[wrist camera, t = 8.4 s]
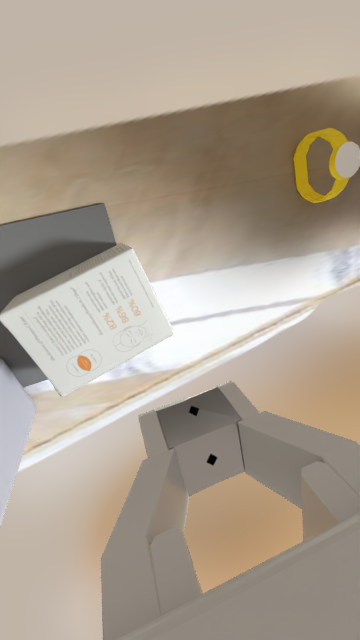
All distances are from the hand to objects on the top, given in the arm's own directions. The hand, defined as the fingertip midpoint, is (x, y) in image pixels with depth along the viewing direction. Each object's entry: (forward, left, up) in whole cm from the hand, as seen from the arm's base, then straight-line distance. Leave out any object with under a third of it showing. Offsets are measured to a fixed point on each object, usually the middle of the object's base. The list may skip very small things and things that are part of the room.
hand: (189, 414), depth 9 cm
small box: (-2, 0, -17) cm, 17 cm away
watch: (-21, -6, -20) cm, 30 cm away
